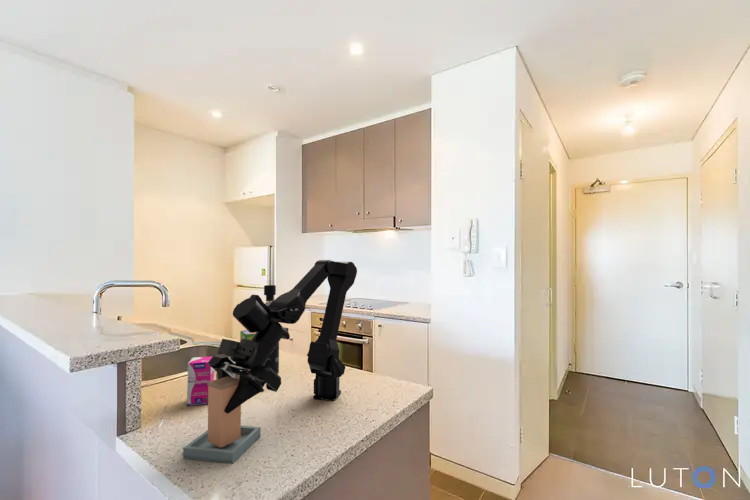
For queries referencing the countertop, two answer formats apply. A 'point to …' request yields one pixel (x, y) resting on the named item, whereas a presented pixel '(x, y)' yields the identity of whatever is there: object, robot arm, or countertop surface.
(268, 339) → the robot arm
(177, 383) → the countertop surface
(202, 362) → the supplement box
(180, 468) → the countertop surface
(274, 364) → the wine bottle
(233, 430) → the tan lidded box
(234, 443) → the slate tray
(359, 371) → the countertop surface
